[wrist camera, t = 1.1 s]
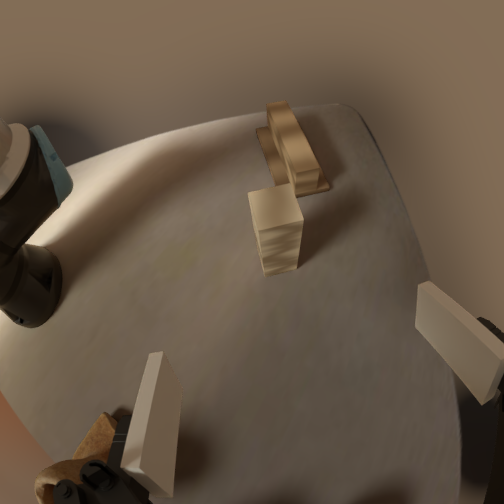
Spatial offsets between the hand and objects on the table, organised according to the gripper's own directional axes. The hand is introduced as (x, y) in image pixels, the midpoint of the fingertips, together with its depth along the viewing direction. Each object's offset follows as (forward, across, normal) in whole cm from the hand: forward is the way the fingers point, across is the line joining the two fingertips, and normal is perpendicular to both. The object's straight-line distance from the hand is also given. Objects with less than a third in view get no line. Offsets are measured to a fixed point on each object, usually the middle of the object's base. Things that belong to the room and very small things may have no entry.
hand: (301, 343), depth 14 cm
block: (+28, +2, -7) cm, 28 cm away
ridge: (+39, +9, +5) cm, 41 cm away
